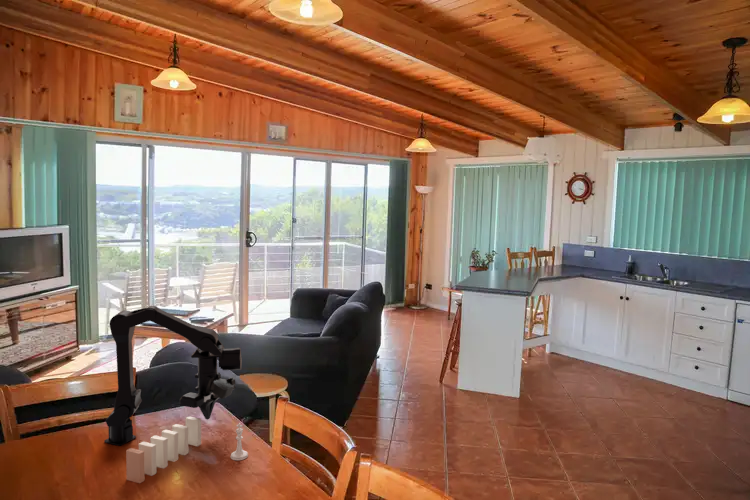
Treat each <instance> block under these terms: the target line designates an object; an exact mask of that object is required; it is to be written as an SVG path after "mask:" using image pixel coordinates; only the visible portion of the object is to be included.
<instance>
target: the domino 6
mask: <svg viewBox="0 0 750 500" xmlns="http://www.w3.org/2000/svg"><path fill="white" fill-rule="evenodd" d="M184 426H188V446H189V445H190V446H195V447H199V446H201V445H202V418H199V417H194V416H191V415H190V416H187V417H185V424H184Z"/></svg>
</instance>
